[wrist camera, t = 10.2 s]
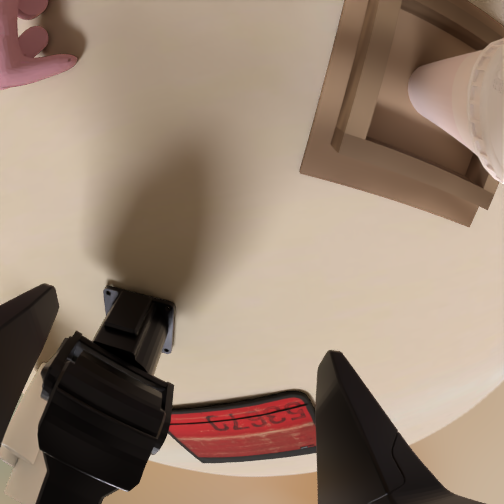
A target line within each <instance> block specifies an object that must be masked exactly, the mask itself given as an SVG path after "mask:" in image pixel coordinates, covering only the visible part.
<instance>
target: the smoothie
mask: <svg viewBox="0 0 504 504" xmlns="http://www.w3.org/2000/svg"><path fill="white" fill-rule="evenodd" d="M408 94H409V98H410V101H411V103H412V105H413V107H414V108H415V109H416V110H417V112H418V113H420V114H421V115H422V116H424V117H425V118H427V119H428V120H430V121H431V122H433V123H434V124H436V125H437V126H439V127H440V128H442V129H443V130H444V131H446V132H447V133H449V134H450V135H451V136H453V137H454V138H455V139H457V140H458V141H459V142H461V143H462V144H463V145H465V146H466V147H467V148H469V149H470V150H471V151H472V152H473V153H475V154H476V155H477V156H478V158H479V159H480V161H481V163H482V165H483V167H484V168H485V169H486V170H487V171H488V172H489V174H490V175H491V176H492V177H493V178H494V179H495V180H497V181H499V182H500V183H502V184H504V38H503V39H500V40H497V41H494V42H491V43H490V44H489V45H488V46H487V47H486V48H484V49H483V50H479V51H476V52H472V53H467V54H463V55H459V56H455V57H451V58H447V59H444V60H440V61H436V62H433V63H429V64H426V65H422V66H420V67H418V68H417V69H416V70H415V71H414V72H413V73H412V75H411V77H410V79H409V83H408Z"/></svg>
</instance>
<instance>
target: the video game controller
mask: <svg viewBox="0 0 504 504" xmlns="http://www.w3.org/2000/svg"><path fill="white" fill-rule="evenodd" d="M47 5H48V0H0V90H3V89H7V88H10V87H16V86H21V85H26V84H30V83H34V82H37V81H39V80H42V79H45V78H48V77H51V76H54V75H56V74H59V73H62V72H64V71H66V70H68V69H70V68H72V67H73V66H74V65H75V64H76V62H77V57H75V56H74V55H70V54H56V55H51V56H45V57H39V58H34V57H35V56H36V55H37V54H38V53H39V52H41V51H42V50H43V49H44V48H45V47H46V45H47V43H48V34H47V31H46V30H45V29H44V28H43V27H41V26H33V27H30V28H29V29H27V30H26V31H25V32H24V33H23V34H21V36H20V37H19V38H18V29H17V16H18V17H19V18H21V19H24V20H30V19H34V18H36V17H37V16H39V15H40V14H41V13H42V12H43V11H44V10H45V9H46V7H47Z"/></svg>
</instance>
